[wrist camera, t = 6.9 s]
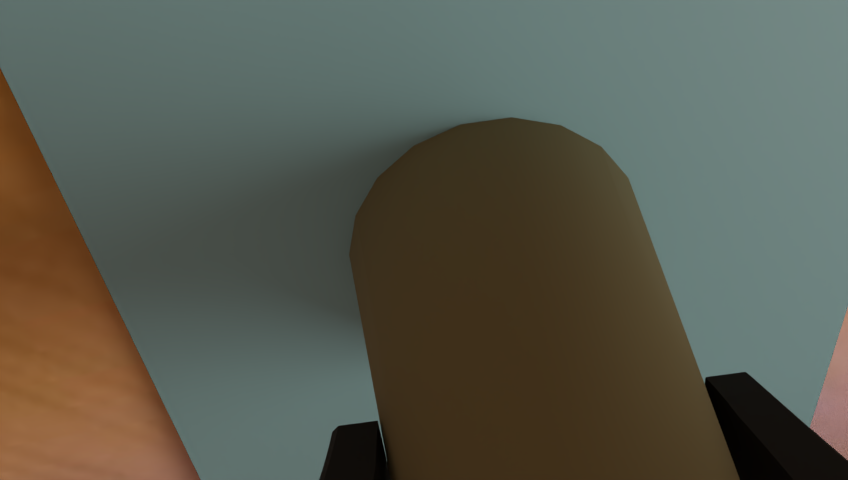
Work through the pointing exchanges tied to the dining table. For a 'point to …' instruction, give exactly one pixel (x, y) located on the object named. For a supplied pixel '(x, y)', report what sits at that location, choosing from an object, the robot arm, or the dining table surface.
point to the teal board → (390, 139)
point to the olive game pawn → (524, 317)
